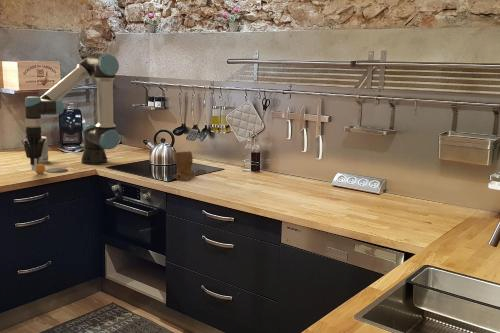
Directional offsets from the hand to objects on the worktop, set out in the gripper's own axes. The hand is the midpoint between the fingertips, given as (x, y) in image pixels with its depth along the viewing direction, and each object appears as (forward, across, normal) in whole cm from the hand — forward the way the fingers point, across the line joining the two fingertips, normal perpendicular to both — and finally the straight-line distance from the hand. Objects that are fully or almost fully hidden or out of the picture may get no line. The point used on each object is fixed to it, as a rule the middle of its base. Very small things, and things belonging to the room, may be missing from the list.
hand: (34, 170), depth 278 cm
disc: (+2, +14, 0) cm, 14 cm away
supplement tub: (+2, +24, +27) cm, 36 cm away
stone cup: (+2, +46, -64) cm, 79 cm away
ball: (0, +3, 0) cm, 3 cm away
